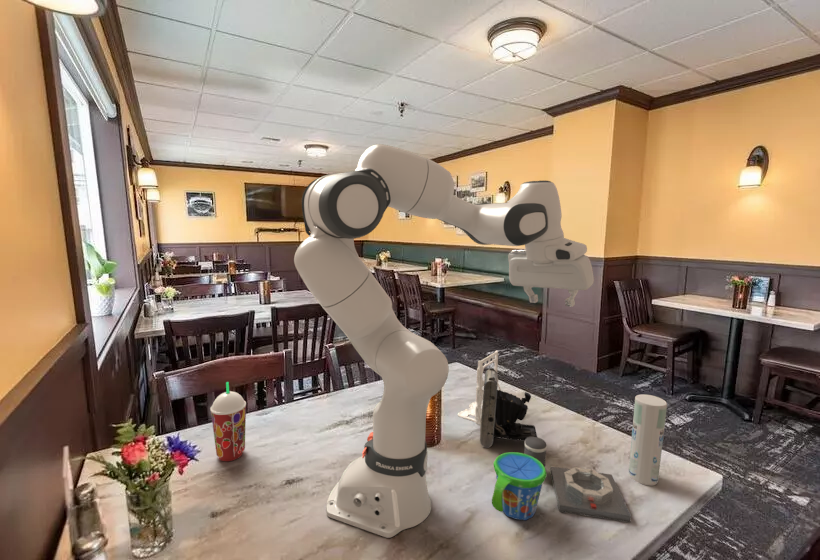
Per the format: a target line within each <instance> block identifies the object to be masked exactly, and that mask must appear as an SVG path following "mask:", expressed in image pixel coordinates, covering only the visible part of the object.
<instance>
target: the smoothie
mask: <svg viewBox="0 0 820 560" xmlns="http://www.w3.org/2000/svg"><path fill="white" fill-rule="evenodd" d="M229 383H230V382H229V381H226V382H225V388H226V389H225V391H224V392H222V393H220V394H219V395H218V396H217V397H216V398H215V400H214V401H213V403H212V405H211V406H210V408H209V409H210V415H211V423H212V430H213V437H214V444H215V445H214V446H215V451H216V452H215V453H216V456H217V457H218V458H219V460H220V461H223V462H231V461H235V460H237V459H239V458H240V457H242V456H243V453H244V451H245V449H246V423H247V422H246V419H247V417H246V415H247V401H245V400H244V398H243V396H242V395H241V394H239V393H238V392H236V391H231V390H230V385H229Z"/></svg>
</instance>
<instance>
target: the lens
mask: <svg viewBox="0 0 820 560" xmlns="http://www.w3.org/2000/svg"><path fill="white" fill-rule="evenodd" d="M523 454H526V455H529V456H532V457H534V458H535V459H537V460H538V461H540V462H541V463H542V464H543V466H544V467H545V468H546V455H547V442H546V440H544V439H542V438H540V437H538V436H537V437H528V438H526V439H525V441H524V452H523Z"/></svg>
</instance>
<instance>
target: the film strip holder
mask: <svg viewBox="0 0 820 560" xmlns="http://www.w3.org/2000/svg"><path fill="white" fill-rule="evenodd" d="M491 359H492V360H491ZM487 361H488V363H487ZM492 363H494V367H493V369H494V370H495V371H496V372H497V373H498V366H499V365H498V363H499V350H495V351H494V352H493V353H491V354H490V355H488V356H487V357H485V358H483V359H481V360H478V361H477V368H476V389H475V401H473V402H471V403H469V404H468V408H465V410H460V411H458V413H457V417H459V418H461V419H464V420H467V421H471V422H474V423H475V424H477V425H478V426H480V423H481V414H482V403H483V391H484V389H483V388H484V379H483V374H484V370H485V368H487V367H488V366H490V365H491V364H492ZM483 364H484V365H483ZM497 385H498V388H497V389H498V390H501V391H502V389H501V386H500V384H499V383H498V384H497ZM469 416H473V417H474V418H472V417H469Z"/></svg>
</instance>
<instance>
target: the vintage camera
mask: <svg viewBox="0 0 820 560" xmlns="http://www.w3.org/2000/svg"><path fill="white" fill-rule="evenodd" d="M498 376H499V375H498V371H497V372H496V371H495V370H494V368H490V367H489V369H487V370H486V371H485V373H484V379H483V380H484V386H483V390H484V391H483V400H482V406H481V409H482V414H481V423H480V425H479V426H480V428H479V429H480V430H479V431H480V432H479V442H480V445H481V446H482V447H483V448H486V449H487V448H488V449H489V448H490V447H492V445H493V444H494V438H498V439H507V440H514V441H524V442H525V439H526V438H528V437H538V434H537V430H536V426H535V425H533V424H526V423H525V424H523V423H519V422H517V420H519V421H523V420H524V419H525V417H526V415H527V413H528V410H529V407H528V405H527V404H528V403H529V402H530V401H531V398H532V395H531V394H530V393H529V392H526V391H524V397H518V396H517V395H515V394H512V393H509V392H506V391H503V390H502V389H501V390H499V388H498V385H497V384H499V378H498ZM526 403H527V404H526Z"/></svg>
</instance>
